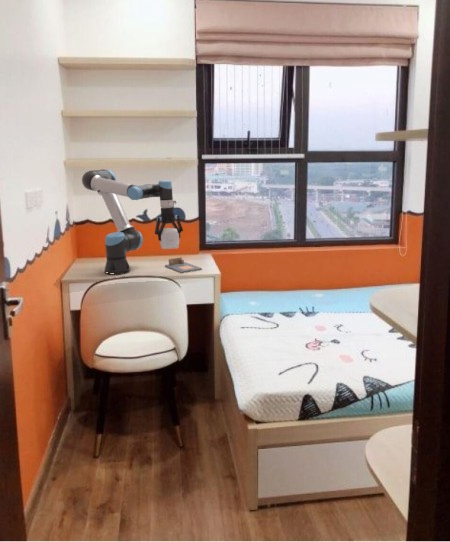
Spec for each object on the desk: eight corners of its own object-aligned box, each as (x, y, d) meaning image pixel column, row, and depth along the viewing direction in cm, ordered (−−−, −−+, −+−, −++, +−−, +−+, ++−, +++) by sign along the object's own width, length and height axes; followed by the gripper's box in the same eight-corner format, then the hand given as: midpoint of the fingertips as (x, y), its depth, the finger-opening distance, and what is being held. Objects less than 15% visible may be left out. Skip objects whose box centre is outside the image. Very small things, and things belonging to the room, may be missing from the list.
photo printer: (178, 247, 312) (177, 226, 310) (178, 248, 308) (177, 227, 306) (161, 248, 312) (159, 227, 309) (161, 249, 308) (159, 228, 305)
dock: (181, 273, 309) (180, 265, 308) (165, 266, 327) (164, 259, 326) (201, 269, 316) (201, 262, 315) (184, 263, 334) (184, 256, 333)
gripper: (151, 209, 296) (154, 248, 301) (187, 205, 307) (189, 243, 312) (146, 208, 302) (149, 246, 307) (181, 204, 313) (184, 241, 318)
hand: (170, 244), depth 310 cm, fingers closed on photo printer, 10 cm apart
